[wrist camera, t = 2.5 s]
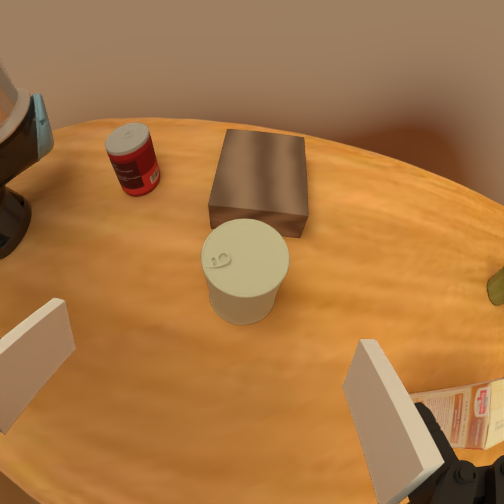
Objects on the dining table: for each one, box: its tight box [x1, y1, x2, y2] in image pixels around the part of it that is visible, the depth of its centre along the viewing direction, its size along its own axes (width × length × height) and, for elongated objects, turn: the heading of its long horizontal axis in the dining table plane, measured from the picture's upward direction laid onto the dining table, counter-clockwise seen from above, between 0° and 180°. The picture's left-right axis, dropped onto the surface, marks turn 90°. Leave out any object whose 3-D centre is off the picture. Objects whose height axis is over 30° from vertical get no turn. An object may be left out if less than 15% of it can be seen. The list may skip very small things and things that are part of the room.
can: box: [201, 219, 290, 325], centre depth 33 cm, size 9×9×12 cm
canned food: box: [105, 123, 160, 196], centre depth 42 cm, size 8×8×11 cm
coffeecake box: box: [409, 377, 504, 450], centre depth 22 cm, size 15×7×20 cm, turn 82°
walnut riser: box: [208, 129, 308, 238], centre depth 45 cm, size 14×18×6 cm
